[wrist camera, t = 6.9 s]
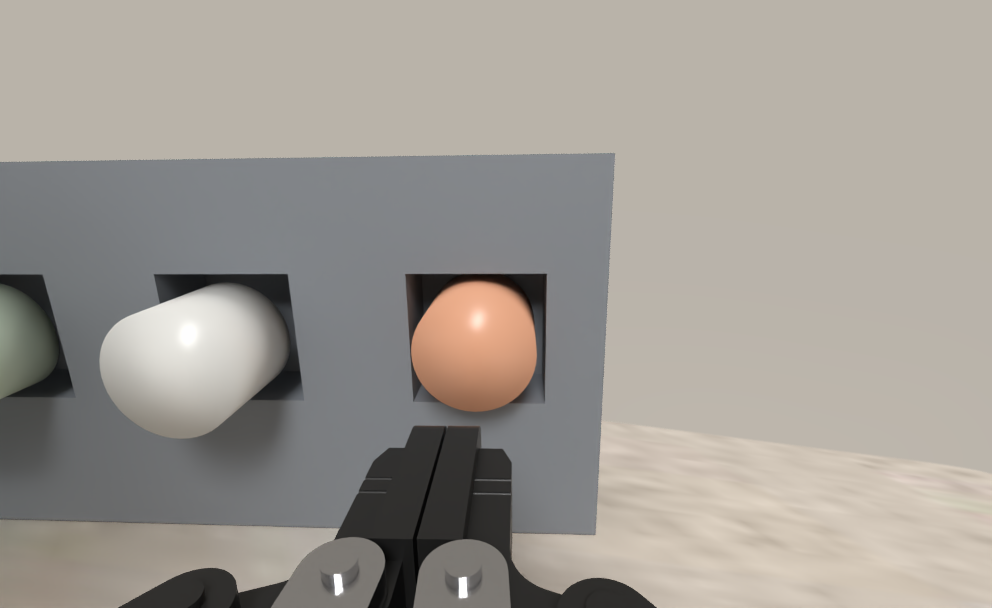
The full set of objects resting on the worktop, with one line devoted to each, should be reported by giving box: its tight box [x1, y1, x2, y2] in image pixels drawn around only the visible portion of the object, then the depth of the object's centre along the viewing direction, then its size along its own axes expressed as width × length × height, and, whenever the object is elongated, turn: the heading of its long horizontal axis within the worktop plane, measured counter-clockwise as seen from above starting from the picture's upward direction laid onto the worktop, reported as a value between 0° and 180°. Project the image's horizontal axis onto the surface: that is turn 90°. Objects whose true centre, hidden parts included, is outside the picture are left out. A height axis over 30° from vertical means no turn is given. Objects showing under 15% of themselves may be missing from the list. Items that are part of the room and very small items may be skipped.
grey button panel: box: [0, 153, 615, 535], centre depth 23 cm, size 30×6×16 cm, turn 87°
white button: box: [99, 282, 291, 439], centre depth 18 cm, size 5×4×5 cm
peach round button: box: [411, 274, 537, 412], centre depth 20 cm, size 5×4×5 cm
